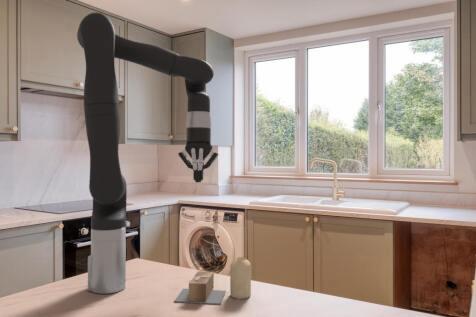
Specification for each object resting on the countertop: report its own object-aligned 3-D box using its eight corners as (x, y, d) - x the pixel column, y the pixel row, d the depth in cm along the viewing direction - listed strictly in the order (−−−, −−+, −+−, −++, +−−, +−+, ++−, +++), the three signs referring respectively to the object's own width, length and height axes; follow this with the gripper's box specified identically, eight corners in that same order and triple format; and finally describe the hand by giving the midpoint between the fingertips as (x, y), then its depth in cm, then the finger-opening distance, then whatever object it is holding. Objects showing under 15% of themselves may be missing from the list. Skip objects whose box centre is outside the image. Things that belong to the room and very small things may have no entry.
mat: (174, 302, 99) (174, 300, 99) (183, 289, 108) (183, 288, 108) (220, 304, 97) (220, 303, 97) (225, 291, 106) (225, 290, 106)
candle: (248, 299, 100) (249, 261, 100) (228, 298, 102) (228, 260, 101) (252, 292, 106) (252, 256, 106) (232, 290, 107) (232, 255, 107)
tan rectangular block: (197, 286, 109) (188, 300, 99) (197, 270, 109) (188, 282, 99) (213, 287, 108) (205, 301, 98) (213, 271, 108) (206, 283, 98)
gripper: (174, 126, 118) (174, 182, 118) (217, 126, 116) (217, 183, 116) (181, 127, 125) (181, 181, 125) (221, 127, 123) (221, 181, 124)
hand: (198, 182), depth 121 cm, fingers closed
